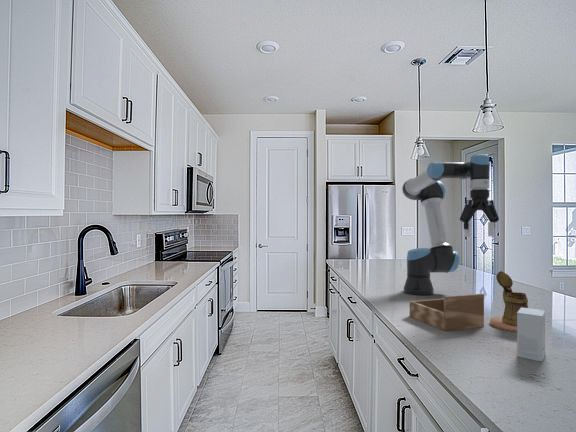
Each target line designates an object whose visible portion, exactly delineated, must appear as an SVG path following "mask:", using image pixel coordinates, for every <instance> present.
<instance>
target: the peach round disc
mask: <svg viewBox="0 0 576 432" xmlns="http://www.w3.org/2000/svg"><path fill="white" fill-rule="evenodd" d="M489 324H490V325H491V326H492V327H494V328H496V329H500V330H503V331H509V332H514V333H515V332H516V333H517V326H512V325H508V324H505V323H504V322H503V321H502V316H492V317H490V318H489Z"/></svg>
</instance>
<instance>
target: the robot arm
mask: <svg viewBox="0 0 576 432" xmlns="http://www.w3.org/2000/svg"><path fill="white" fill-rule="evenodd" d="M490 164H491V162H490V156H489V154H485V153H484V154H483V153H482V154H481V153H480V154H479V153H478V154H473V155H471V156H470V160H469V161H467V162H463V161H462V162H457V161H456V162H453V161H452V162H451V161H446V162H445V161H434V162H433V161H431V162H430V163H429V164H428V166H427V168H426V170H424V171H423V172H422V173H420V174H418V175H417V176H415V177H413V178H409V179H407V180H406V181H404V183H403V184H402V189H401V190H402V194H403V195H404V196H405V197H406V198H407V199H409V200H412V201H420V203H421V206H423V207H424V211H425V216H426V221H427V227H428V232H429V237H430V239H429V240H430V243H431V247H430V248H429V247H422V248H421V247H418V248H413V249H412V248H411V249H410V250H408V251H407V255H406V278H405V279H406V280H405V283H404V286H403V292H404V293H406V294H409V295H417V296H430V295H433V294H434V292H435V291H434V286H433V283H432V279H431V273H440V274H441V273H446V274H448V273H453V272H455V271H457V269H458V267H459V265H460V255H459V252H458V251H457V250H454V249H453V248H454V247H453V246H452V245H451V244H450V243H449V239H448V235H447V229H446V225H445V220H444V219H445V218H444V215H443V209H442V203H443V201H444V198H445V197H446V188H445V185H444V183H443V182H442V181H441V180H443V179H459V180H467V179H469V180H470V181H469V182H470V185H469V188H470V193H469V194H470V197H469V198H470V199H466V200H465V202H464V203H465V205H464V208H463V210H462V212H461V215H460V217H459V221H461V222H462V223H463V230H464V237H465V238H472V230H471V228H472V225H471V224H472V222H470V221H471V219H472V218H473V217H474V215H475V214H476V212H477V211H482V212H483V213H484V215H485V216H486V218H487V220H488V223H487V226H488V227H487V237H492V238H493V237H495V230H496V223H497V222H498V221H500V217H499V215H498V212H497V210H496V207H495V201H494V200H493V199H490V200H489V199H488V198H490V189H489V188H490Z"/></svg>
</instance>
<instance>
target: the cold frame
mask: <svg viewBox="0 0 576 432" xmlns="http://www.w3.org/2000/svg"><path fill="white" fill-rule="evenodd" d="M409 317H411V318H413V319H416V320H417V321H421V322H423V323H426V324H428V325H430V326H433V327H435V328H438V329H439V330H441V331H444V332H449V331H450V332H451V331H458V330H467V329H474V328H482V327H484V326H485V294H484V293H474V294H473V293H472V294H459V295H450V296H449V295H448V296H443V297H442V298H434V299H421V300H413V301H411V300H410V301H409Z"/></svg>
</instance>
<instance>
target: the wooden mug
mask: <svg viewBox="0 0 576 432" xmlns="http://www.w3.org/2000/svg"><path fill="white" fill-rule="evenodd" d="M495 277H496V280H497V283H498V284H499V286H501V287H502V289H503V290H502V300H503V302H504V310H503V315H502V316H501V317H502V321H503V322H504V323H505V324H508V325H512V326H517V312H518V311H519V309H520V308H521V307H522V308H529V305H528V303H529V300H528V297H527V294H526V293H524V292H513V289H512V286H513V285H514V283H513V280H512V278H511V276H509V274H507V273H505V272H503V271H502V270H500V271H499V272H497V274H496V276H495Z"/></svg>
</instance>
